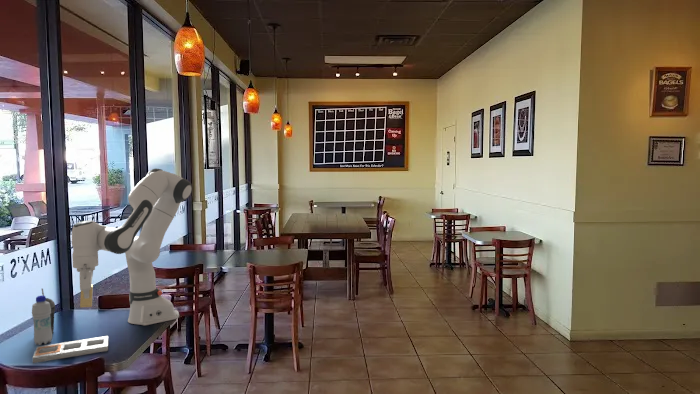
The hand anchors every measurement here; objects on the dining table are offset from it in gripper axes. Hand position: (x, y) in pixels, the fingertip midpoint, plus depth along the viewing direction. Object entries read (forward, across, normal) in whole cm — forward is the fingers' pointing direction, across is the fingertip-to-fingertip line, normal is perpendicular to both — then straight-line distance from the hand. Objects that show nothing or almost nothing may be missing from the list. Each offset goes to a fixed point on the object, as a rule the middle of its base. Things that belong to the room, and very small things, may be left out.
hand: (87, 296), depth 188 cm
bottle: (+22, +16, +17) cm, 32 cm away
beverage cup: (+22, +28, +17) cm, 39 cm away
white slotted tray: (+22, 0, +6) cm, 22 cm away
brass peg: (+4, 0, 0) cm, 4 cm away
